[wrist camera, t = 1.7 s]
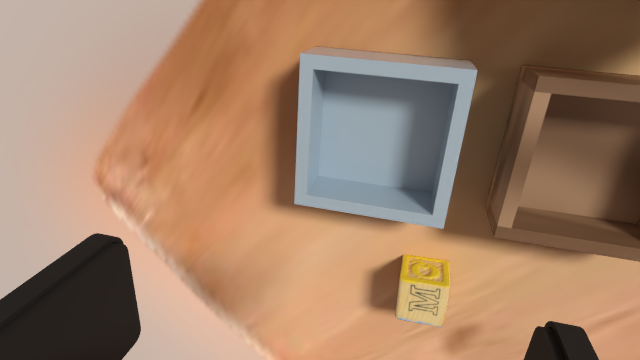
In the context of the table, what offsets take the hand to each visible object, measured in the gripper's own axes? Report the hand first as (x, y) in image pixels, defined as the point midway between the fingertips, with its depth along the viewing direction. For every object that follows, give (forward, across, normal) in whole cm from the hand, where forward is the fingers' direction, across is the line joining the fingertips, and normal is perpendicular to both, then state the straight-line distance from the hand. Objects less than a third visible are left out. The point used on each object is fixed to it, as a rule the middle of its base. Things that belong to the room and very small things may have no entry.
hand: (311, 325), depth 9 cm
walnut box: (+17, -11, 0) cm, 20 cm away
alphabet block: (+17, -4, +10) cm, 20 cm away
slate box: (+17, 0, 0) cm, 17 cm away
